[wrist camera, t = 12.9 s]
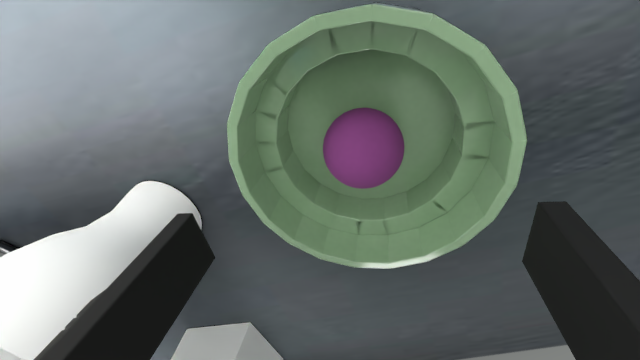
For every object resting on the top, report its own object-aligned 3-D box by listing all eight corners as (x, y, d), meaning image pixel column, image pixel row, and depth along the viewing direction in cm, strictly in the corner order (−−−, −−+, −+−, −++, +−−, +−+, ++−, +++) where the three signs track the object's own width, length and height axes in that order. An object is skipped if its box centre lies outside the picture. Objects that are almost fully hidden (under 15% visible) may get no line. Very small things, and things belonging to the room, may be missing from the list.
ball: (336, 165, 22) (322, 205, 17) (325, 101, 19) (306, 130, 15) (404, 162, 20) (406, 204, 16) (402, 92, 18) (404, 122, 14)
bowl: (290, 214, 26) (268, 265, 21) (237, 30, 18) (182, 42, 13) (473, 211, 22) (498, 272, 17) (503, -25, 14) (566, -37, 9)
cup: (196, 168, 25) (12, 335, 13) (227, 252, 31) (120, 425, 18) (99, 165, 27) (-139, 305, 15) (144, 245, 33) (-2, 394, 20)
